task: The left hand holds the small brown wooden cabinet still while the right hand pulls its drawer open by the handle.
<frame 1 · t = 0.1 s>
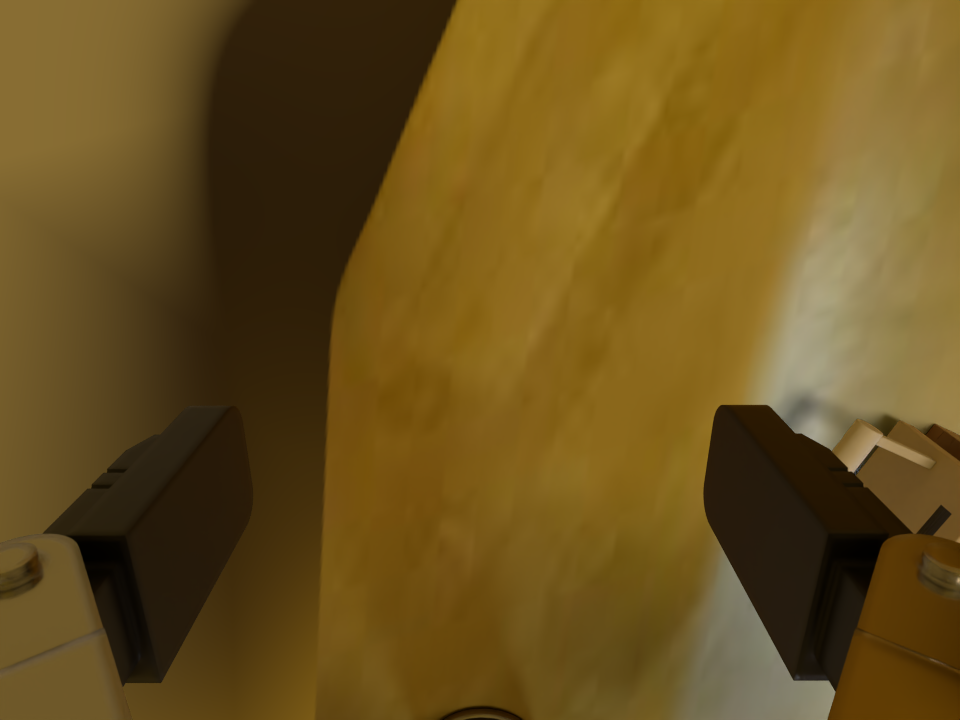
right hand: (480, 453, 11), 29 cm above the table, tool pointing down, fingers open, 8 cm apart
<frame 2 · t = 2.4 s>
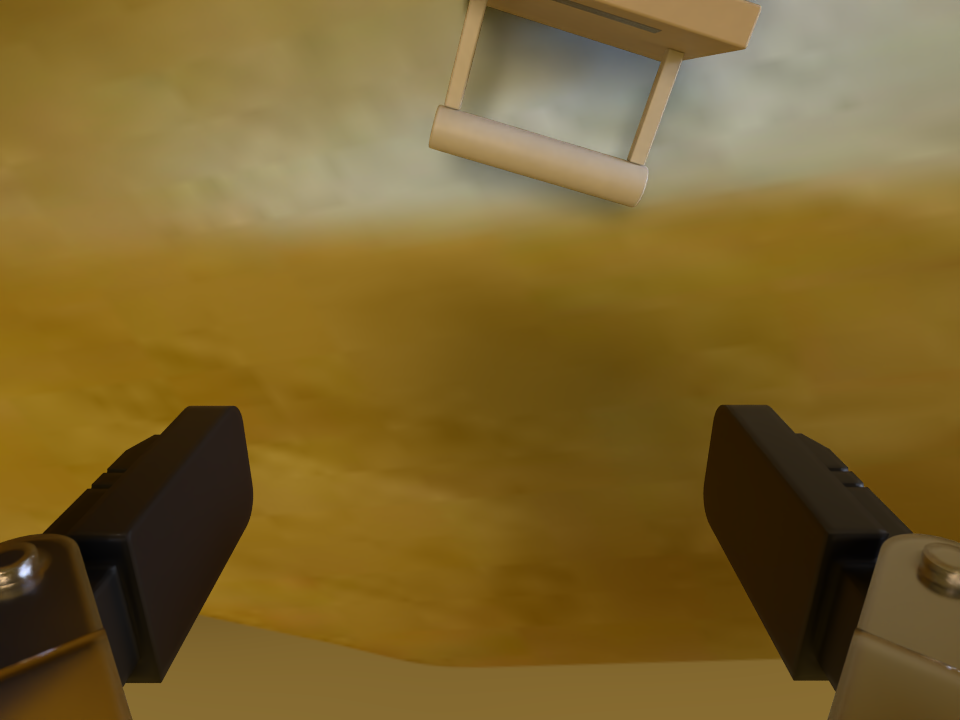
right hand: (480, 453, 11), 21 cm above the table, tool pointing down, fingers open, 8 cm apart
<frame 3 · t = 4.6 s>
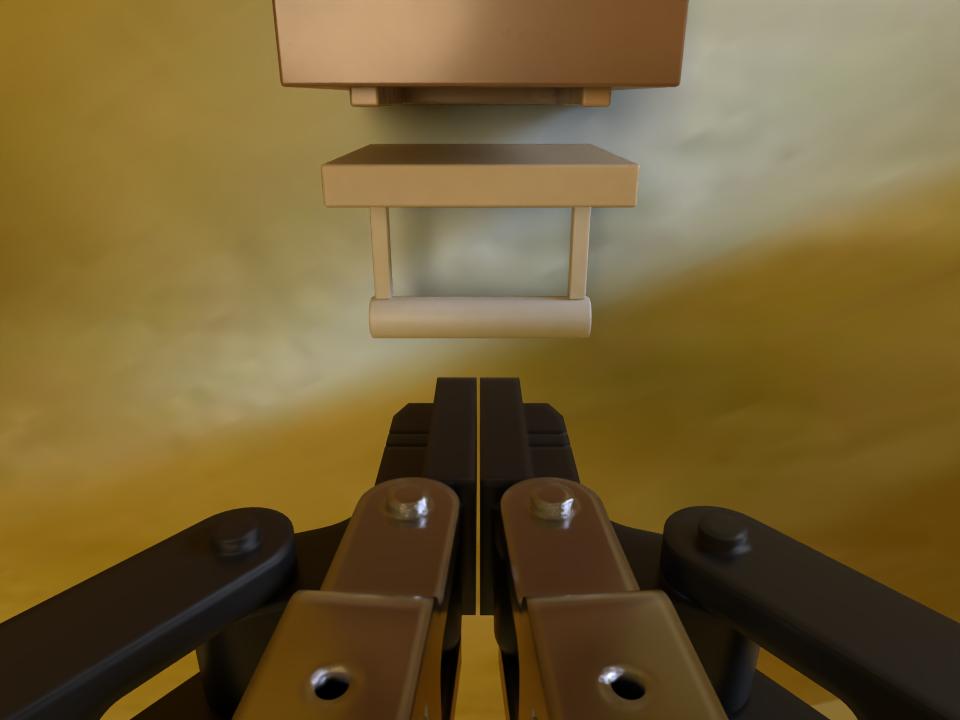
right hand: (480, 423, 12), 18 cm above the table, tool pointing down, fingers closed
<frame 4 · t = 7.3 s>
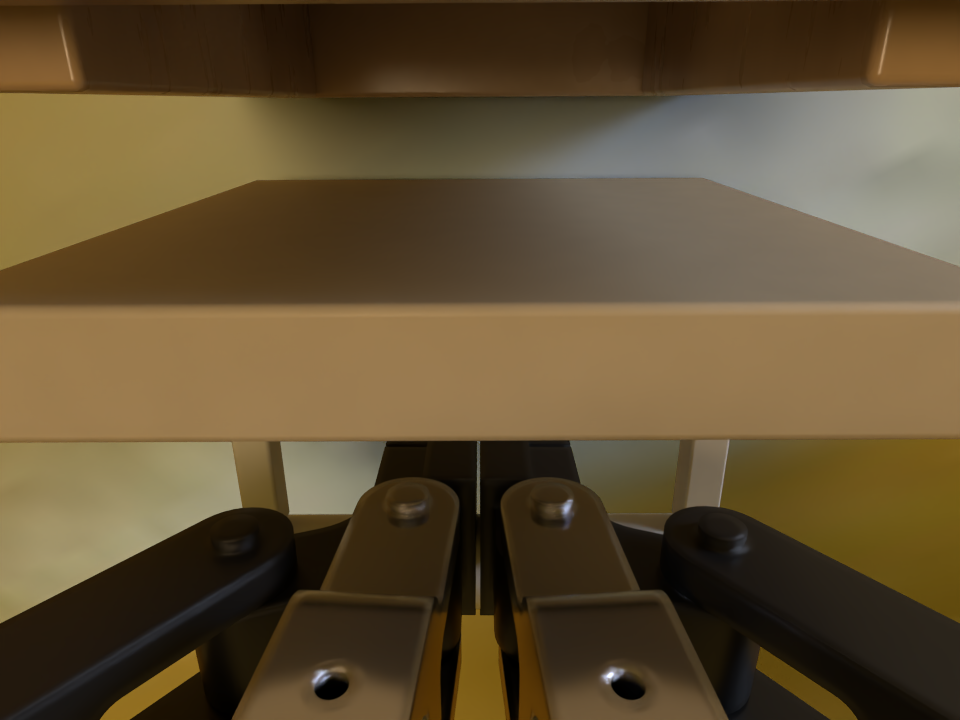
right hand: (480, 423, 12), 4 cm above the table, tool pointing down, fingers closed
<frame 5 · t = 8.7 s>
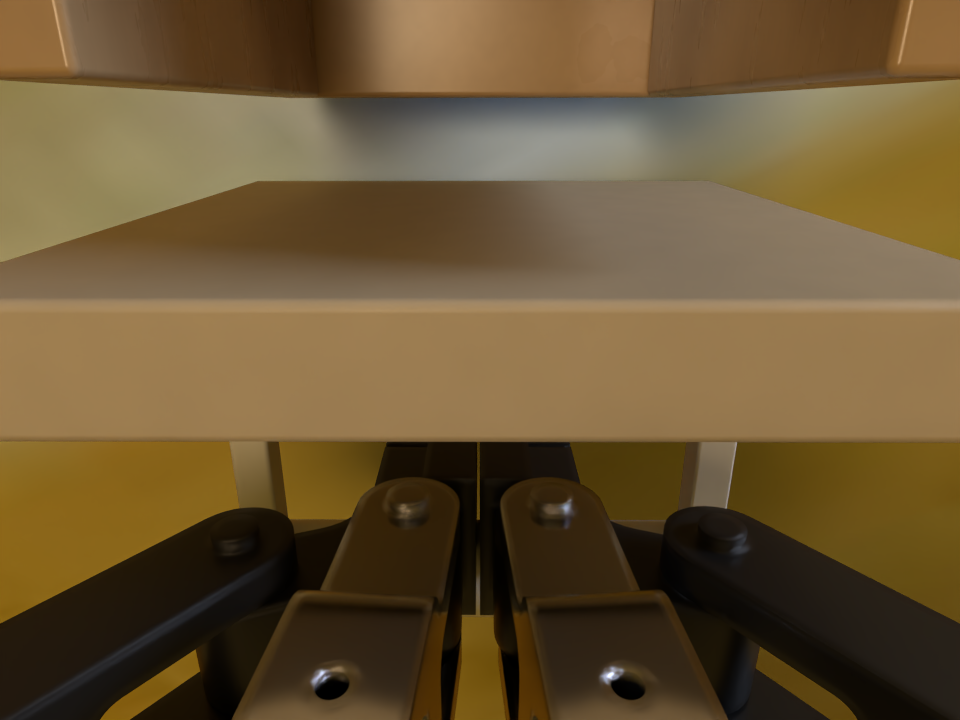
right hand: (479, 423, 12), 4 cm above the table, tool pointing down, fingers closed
when the left hand's fingers open (6 cm above the table, at t = 10.5 s): cabinet stays where it is, on the table.
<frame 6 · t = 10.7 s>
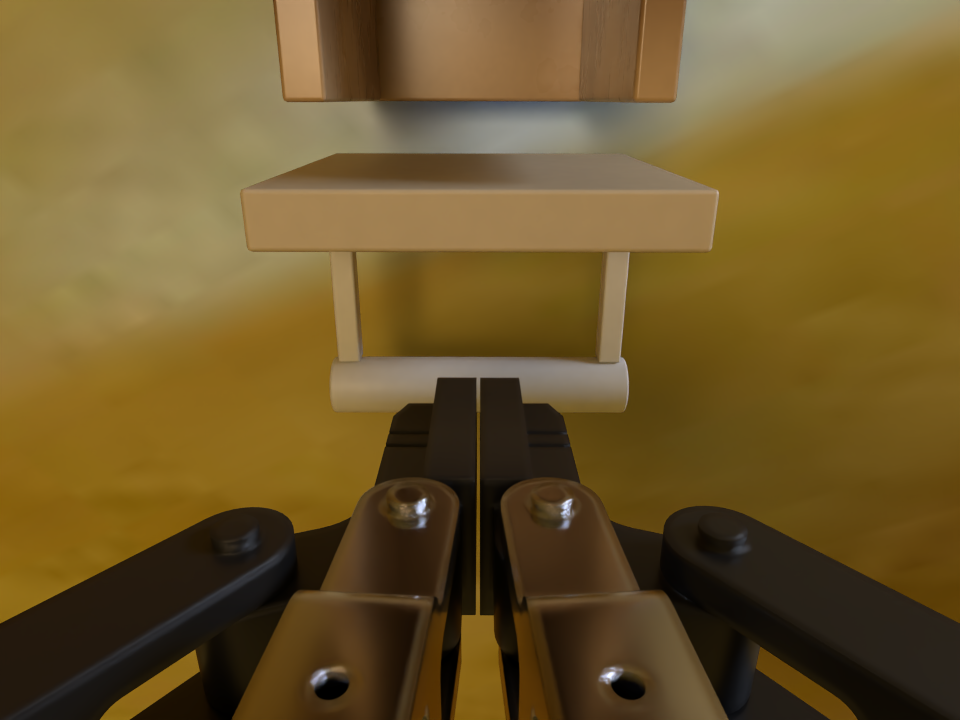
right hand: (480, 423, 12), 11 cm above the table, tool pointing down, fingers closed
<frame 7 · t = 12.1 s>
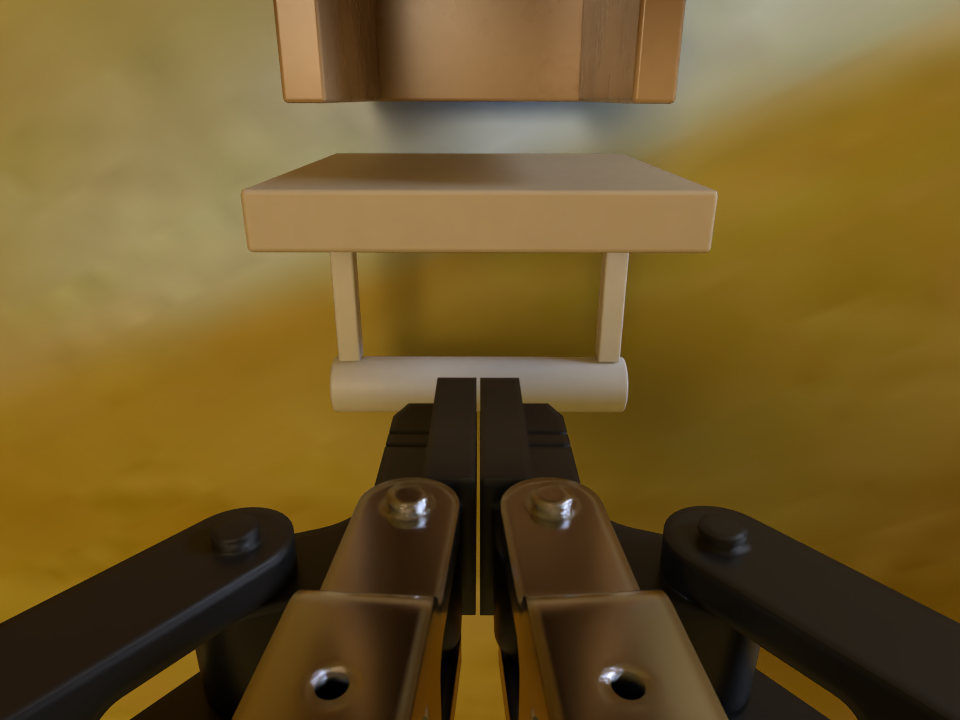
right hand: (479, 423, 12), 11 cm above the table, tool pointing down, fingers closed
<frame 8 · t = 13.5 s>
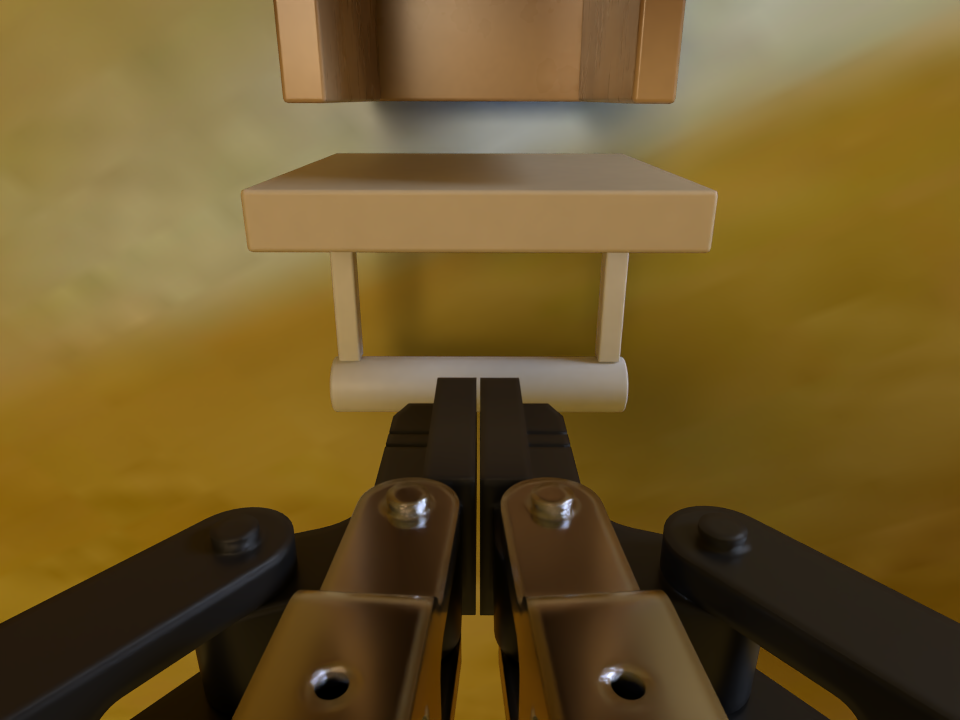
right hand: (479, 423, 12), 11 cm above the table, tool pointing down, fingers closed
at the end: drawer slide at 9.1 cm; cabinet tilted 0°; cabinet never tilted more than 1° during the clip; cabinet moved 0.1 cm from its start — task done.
